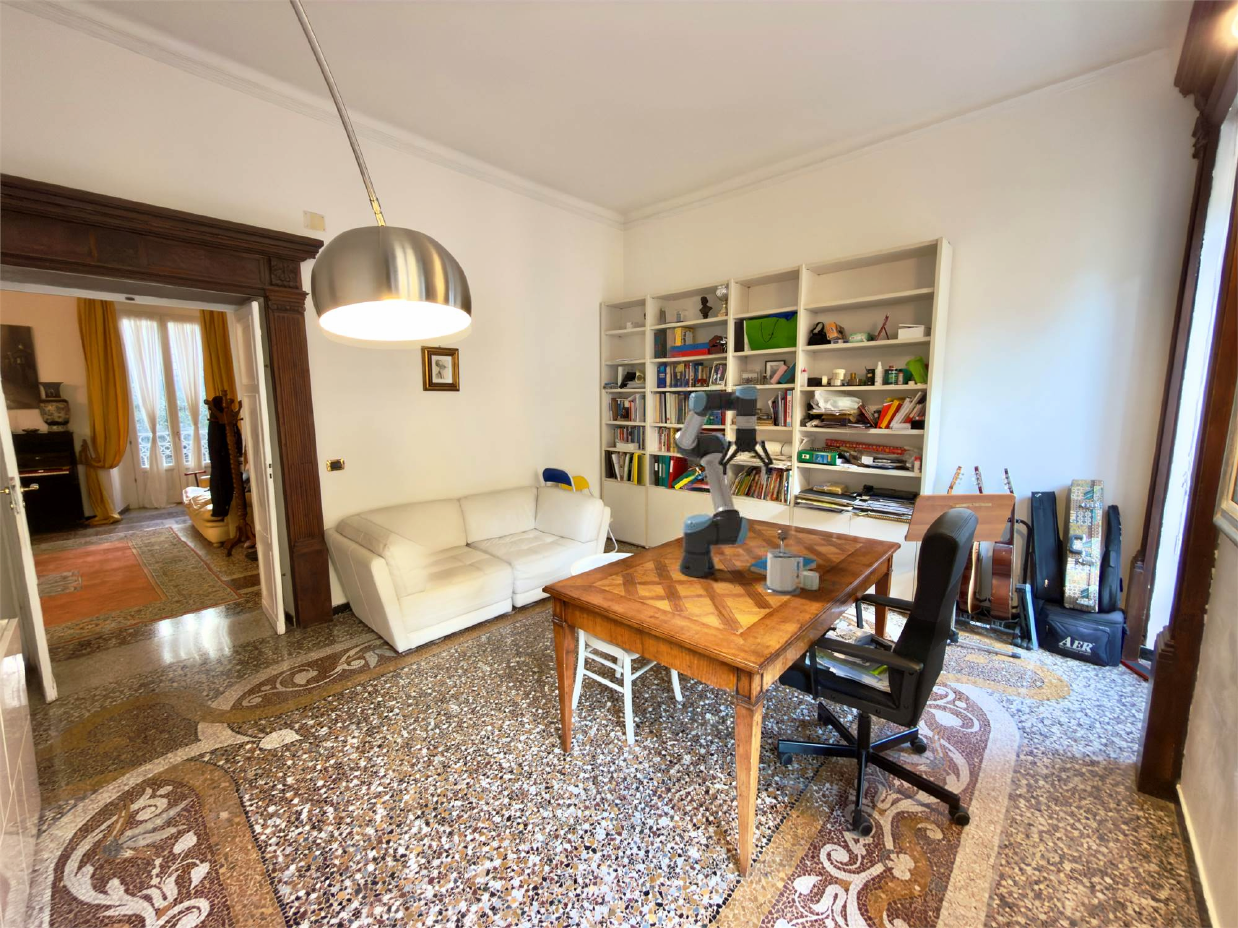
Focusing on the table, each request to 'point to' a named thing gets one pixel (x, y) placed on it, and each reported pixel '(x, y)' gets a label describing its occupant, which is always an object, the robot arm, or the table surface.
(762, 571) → the book
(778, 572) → the cafetiere
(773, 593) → the disc
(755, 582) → the table surface
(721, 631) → the table surface
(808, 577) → the espresso cup
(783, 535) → the plunger
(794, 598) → the table surface
